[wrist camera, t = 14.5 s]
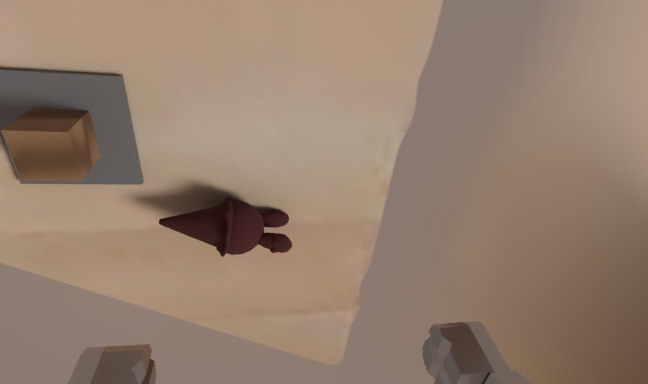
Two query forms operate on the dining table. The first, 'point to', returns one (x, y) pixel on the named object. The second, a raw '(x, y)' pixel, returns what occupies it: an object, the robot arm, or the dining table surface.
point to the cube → (52, 144)
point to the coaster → (78, 94)
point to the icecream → (232, 227)
